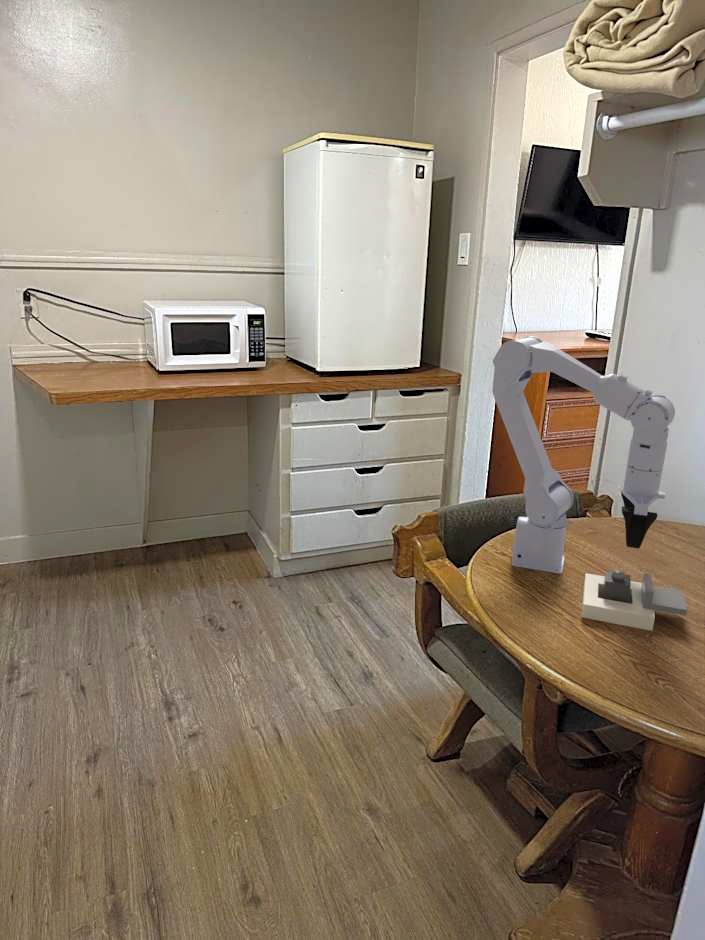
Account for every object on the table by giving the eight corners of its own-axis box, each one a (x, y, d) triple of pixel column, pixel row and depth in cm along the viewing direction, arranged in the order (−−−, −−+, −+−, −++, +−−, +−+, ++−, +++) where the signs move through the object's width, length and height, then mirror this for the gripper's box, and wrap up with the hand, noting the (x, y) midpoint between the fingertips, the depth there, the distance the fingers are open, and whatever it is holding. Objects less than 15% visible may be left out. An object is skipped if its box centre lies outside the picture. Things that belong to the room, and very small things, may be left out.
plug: (600, 609, 115) (606, 574, 113) (601, 599, 119) (606, 564, 117) (625, 614, 114) (631, 579, 112) (625, 603, 117) (631, 569, 115)
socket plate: (581, 617, 112) (583, 604, 112) (583, 585, 123) (585, 573, 122) (652, 630, 109) (654, 617, 108) (648, 596, 120) (650, 584, 119)
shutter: (642, 607, 111) (645, 591, 110) (641, 588, 117) (643, 573, 116) (686, 615, 109) (689, 599, 108) (681, 595, 115) (685, 580, 114)
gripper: (673, 482, 109) (659, 558, 113) (666, 457, 122) (654, 527, 126) (626, 476, 111) (614, 551, 115) (624, 453, 124) (613, 521, 128)
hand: (632, 538), depth 121 cm, fingers open, 7 cm apart
